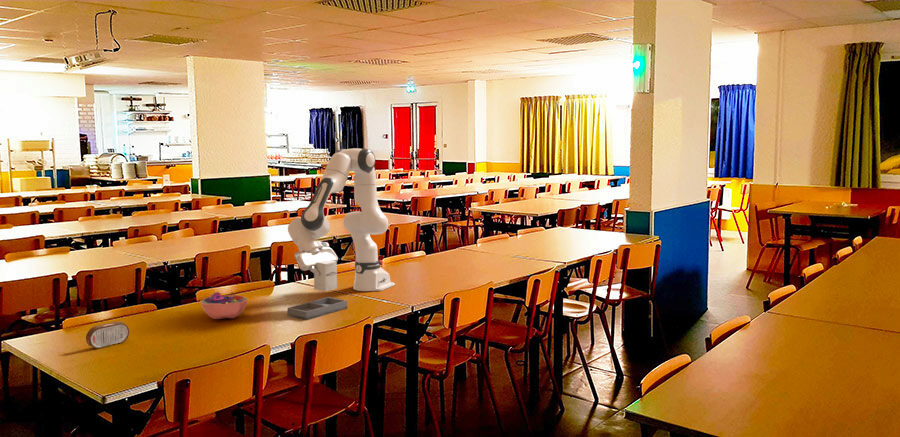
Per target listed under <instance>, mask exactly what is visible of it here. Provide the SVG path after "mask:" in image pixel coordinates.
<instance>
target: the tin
mask: <svg viewBox="0 0 900 437" xmlns="http://www.w3.org/2000/svg"><path fill="white" fill-rule="evenodd" d="M129 336H130V327H129V326H128V325H127V324H126V323H124V322H123V321H113V322H108V323H102V324H97V325H94V326H93V327H91V328H90V329H89V330H88V331H87V333H86V336H85V341H86V343H87V346H89V347H90V348H93V349H97V348H99V349H103V348H102V347H104V348H107V347H106V346H108V347H111V346H110V345H113V344H117V345H119V344H118V343H121V344H123V343H124V342H125V341H126V340H127V339H128V338H129ZM122 342H123V343H122ZM113 346H114V345H113Z"/></svg>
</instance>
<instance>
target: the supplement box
mask: <svg viewBox="0 0 900 437" xmlns="http://www.w3.org/2000/svg"><path fill="white" fill-rule="evenodd" d="M337 262H338V261H337ZM337 262H336V261H330V260H325V261H320V262H316V265H315V269H316V270H318V271H320V273H321V275H320V276H316V274H315V273H313V283H314V285H313V286H314V290H316V291H318V292H319V291H320V292H324V293H325V292H328V291H332V290H337V289H338V277H337V276H338V275H337V274H338V272H337V271H338V270H337V266H338V263H337Z"/></svg>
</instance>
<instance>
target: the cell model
mask: <svg viewBox="0 0 900 437" xmlns="http://www.w3.org/2000/svg"><path fill="white" fill-rule="evenodd" d="M248 301H249V299H248V298H247V297H245V296H243V295H238V294H230V295H229V294H228V295H226V294H225V295H221V293H220V292H219V291H216V292H213V293H212V294H211V295H210V296H207V297H205V298H203V299H201V300H200V301H199V302H200V304H201V307H202V309H203V311H204V312H205V313H206V314H207V316H209V317H210V318H211V319H213V320H224V319H235V318H237V317H239V316H240V315H241V314H242V313H243V312H244V311H245V309H246V306H247V305H248V304H247V303H248Z"/></svg>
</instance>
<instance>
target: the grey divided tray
mask: <svg viewBox="0 0 900 437" xmlns="http://www.w3.org/2000/svg"><path fill="white" fill-rule="evenodd" d="M347 309H348V300H345V299H339V298H335V297H331V296H327V297H323V298H319V299H315V300H312V301H308V302H303V303H300V304H297V305H292V306H289V307H287V317H292V318H296V319H300V320H305V321H308V320H311V319H316V318H319V317H322V316H325V315H326V316H327V315H329V314H334V313H336V312H339V311H342V310H347Z"/></svg>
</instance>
